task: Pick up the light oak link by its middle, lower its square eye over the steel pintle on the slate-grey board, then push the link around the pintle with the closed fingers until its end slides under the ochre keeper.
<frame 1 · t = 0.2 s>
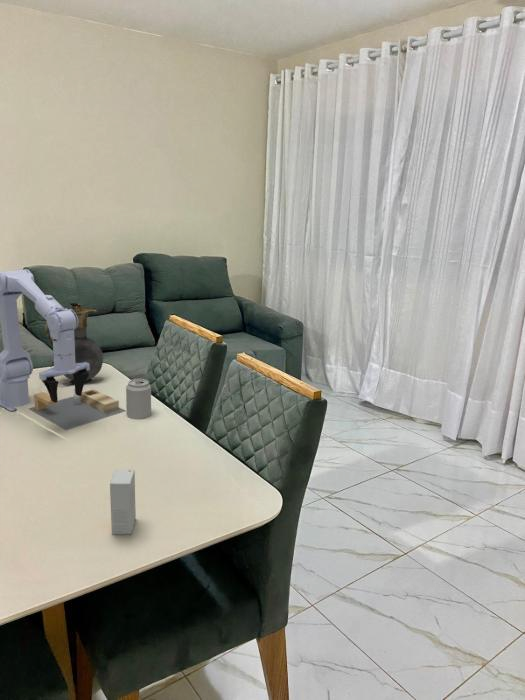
hand: (66, 398, 156), 10 cm above the table, tool pointing down, fingers open, 7 cm apart
slate board: (77, 412, 170), on the table
can: (139, 418, 169), on the table
skincare box: (123, 527, 114), on the table
pitcher: (76, 383, 196), on the table
oak link: (99, 405, 174), point 1 cm above the table, touching slate board
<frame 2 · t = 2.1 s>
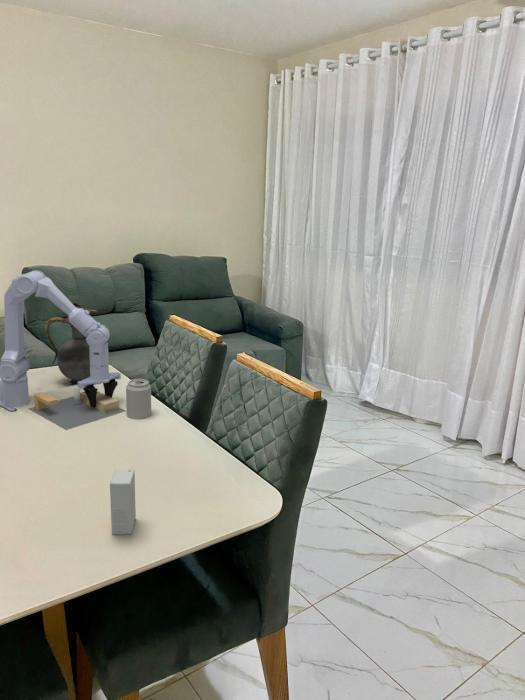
hand: (100, 404, 174), 2 cm above the table, tool pointing down, fingers closed on oak link, 5 cm apart
oak link: (99, 405, 174), point 1 cm above the table, touching gripper, slate board
everything else where it was.
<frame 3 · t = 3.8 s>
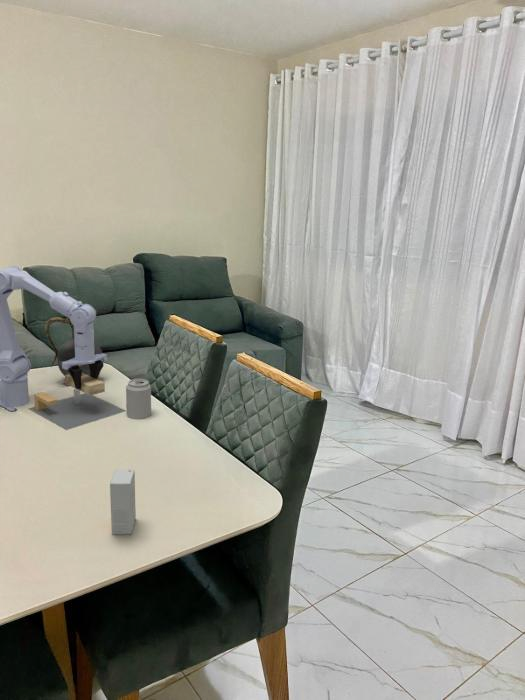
hand: (86, 386, 169), 9 cm above the table, tool pointing down, fingers closed on oak link, 5 cm apart
oak link: (84, 387, 170), point 8 cm above the table, touching gripper
everything else where it was.
when the fingers open (3 cm above the table, at t = 5.6 s): oak link drops 1 cm, resting on slate board.
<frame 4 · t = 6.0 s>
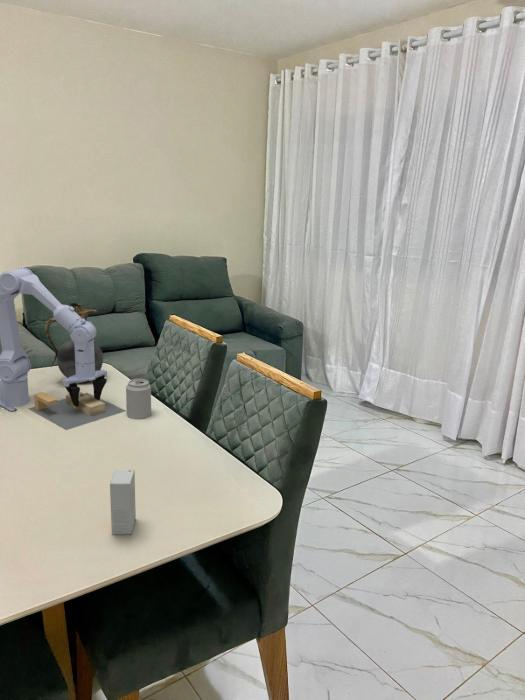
hand: (86, 402, 171), 3 cm above the table, tool pointing down, fingers open, 7 cm apart
oak link: (85, 408, 172), point 1 cm above the table, touching slate board
everything else where it was.
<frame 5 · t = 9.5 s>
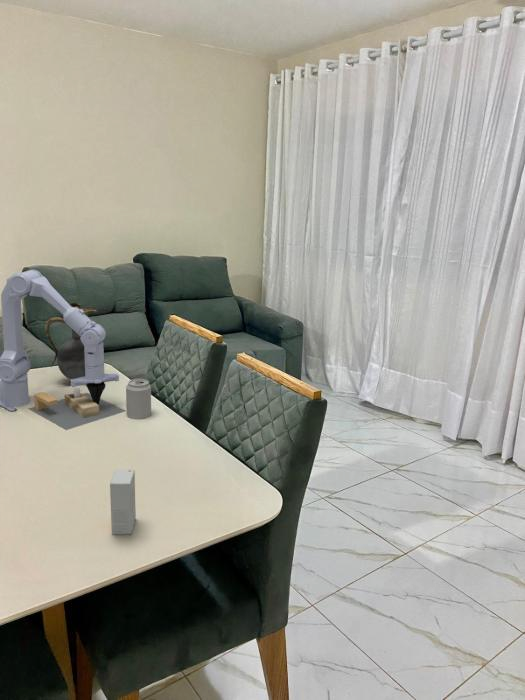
hand: (96, 404, 172), 2 cm above the table, tool pointing down, fingers closed
oak link: (81, 409, 171), point 1 cm above the table, touching gripper, slate board
everything else where it was.
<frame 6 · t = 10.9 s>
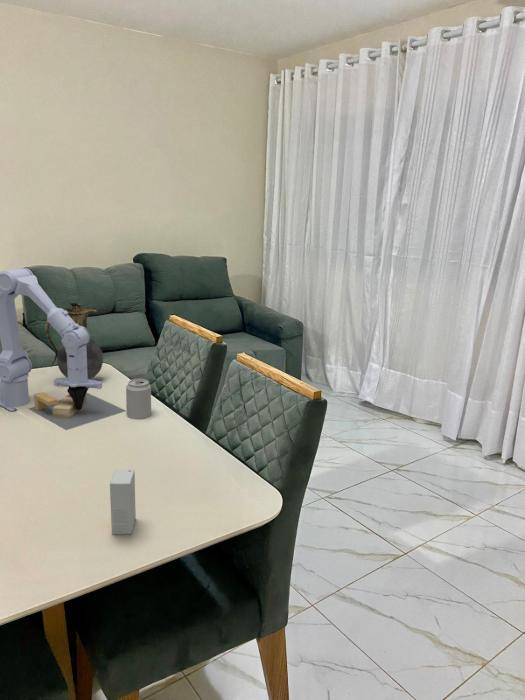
hand: (79, 408, 168), 2 cm above the table, tool pointing down, fingers closed
oak link: (70, 409, 170), point 1 cm above the table, touching gripper, slate board
everything else where it was.
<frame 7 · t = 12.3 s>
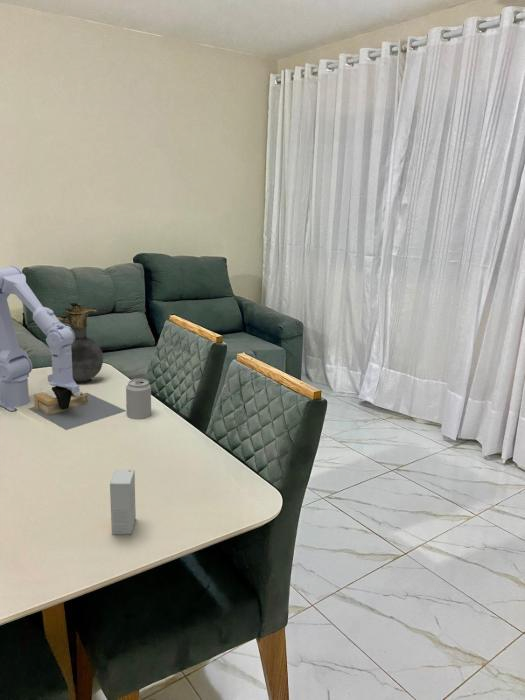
hand: (64, 408, 167), 2 cm above the table, tool pointing down, fingers closed
oak link: (64, 407, 171), point 1 cm above the table, touching gripper, slate board
everything else where it was.
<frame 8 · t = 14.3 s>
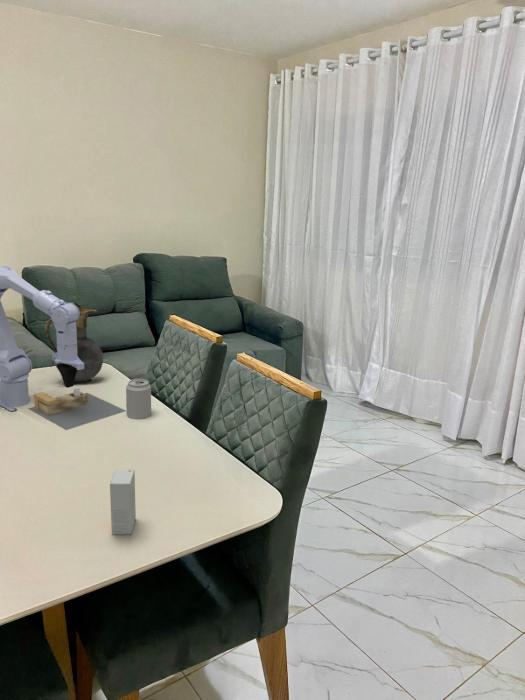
hand: (69, 386, 166), 9 cm above the table, tool pointing down, fingers closed
oak link: (64, 407, 171), point 1 cm above the table, touching slate board
everything else where it was.
at the end: oak link 0.5 cm from the target spot, point 1.0 cm above the table; oak link tilted 0°; the gripper is holding nothing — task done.
